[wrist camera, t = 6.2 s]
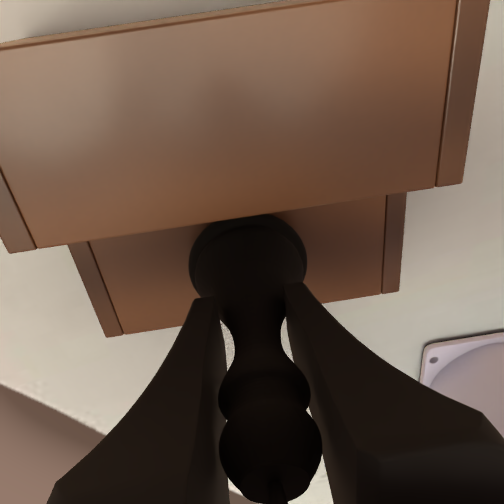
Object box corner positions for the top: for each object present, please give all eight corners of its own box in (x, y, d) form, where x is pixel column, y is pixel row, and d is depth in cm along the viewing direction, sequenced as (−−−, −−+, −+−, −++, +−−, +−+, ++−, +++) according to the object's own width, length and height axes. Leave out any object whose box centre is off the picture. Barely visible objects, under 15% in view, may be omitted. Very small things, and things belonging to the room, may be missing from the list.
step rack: (375, 256, 21) (437, 348, 15) (118, 296, 21) (85, 405, 15) (386, -15, 15) (495, -25, 9) (22, 38, 15) (-91, 60, 9)
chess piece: (205, 196, 14) (188, 498, 6) (323, 226, 15) (466, 524, 6) (177, 297, 16) (134, 629, 8) (282, 318, 17) (349, 633, 9)
